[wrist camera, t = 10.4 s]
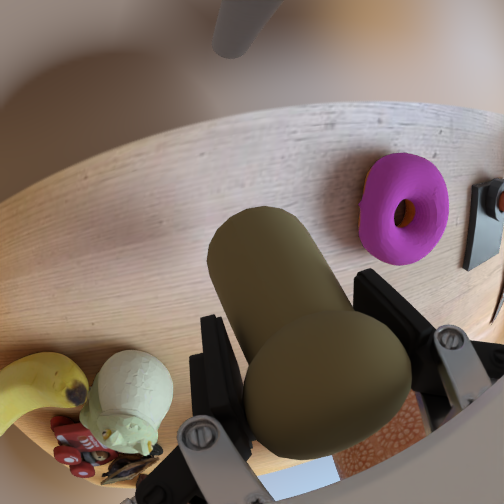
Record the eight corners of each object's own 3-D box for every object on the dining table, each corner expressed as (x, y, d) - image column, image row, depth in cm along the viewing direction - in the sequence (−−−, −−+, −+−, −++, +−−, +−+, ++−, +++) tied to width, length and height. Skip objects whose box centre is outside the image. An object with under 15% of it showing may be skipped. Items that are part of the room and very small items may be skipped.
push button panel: (472, 179, 25) (489, 185, 22) (502, 173, 26) (517, 178, 23) (462, 267, 30) (476, 277, 28) (493, 250, 32) (506, 257, 29)
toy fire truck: (82, 483, 24) (138, 474, 29) (43, 450, 19) (112, 441, 24) (75, 450, 29) (127, 441, 34) (41, 410, 25) (102, 401, 30)
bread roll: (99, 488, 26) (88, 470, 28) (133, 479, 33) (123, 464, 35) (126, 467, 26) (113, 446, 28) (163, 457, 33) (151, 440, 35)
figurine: (197, 356, 26) (205, 440, 17) (151, 428, 30) (151, 490, 21) (101, 319, 22) (73, 402, 13) (81, 405, 26) (68, 467, 17)
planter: (427, 316, 32) (512, 403, 15) (417, 387, 41) (467, 453, 24) (296, 391, 32) (352, 519, 14) (323, 440, 41) (360, 520, 24)
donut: (360, 139, 21) (394, 143, 17) (434, 164, 23) (466, 173, 19) (338, 252, 25) (364, 275, 20) (412, 255, 27) (439, 273, 23)
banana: (56, 314, 26) (67, 368, 16) (83, 348, 29) (110, 409, 19) (-51, 408, 12) (-59, 473, 3) (-24, 435, 15) (-21, 502, 5)
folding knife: (166, 455, 32) (150, 456, 32) (166, 448, 33) (150, 450, 33) (130, 426, 28) (113, 428, 28) (131, 419, 29) (114, 421, 29)
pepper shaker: (317, 283, 17) (419, 425, 7) (226, 315, 17) (268, 490, 7) (300, 191, 14) (466, 315, 5) (190, 227, 14) (199, 433, 4)
